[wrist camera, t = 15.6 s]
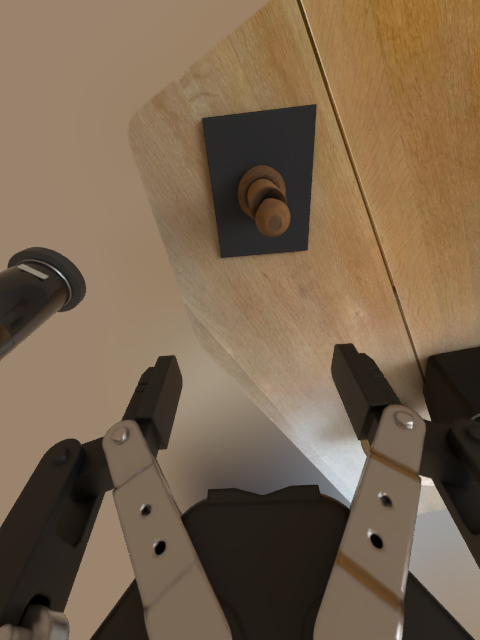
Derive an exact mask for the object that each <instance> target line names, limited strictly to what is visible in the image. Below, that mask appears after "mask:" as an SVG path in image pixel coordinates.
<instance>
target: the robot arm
mask: <svg viewBox="0 0 480 640" xmlns="http://www.w3.org/2000/svg"><path fill="white" fill-rule="evenodd" d="M72 296H73V288H72V285H71V283H70V281H69V279H68V278H67V276H66V275H65V274H64V273H63V272H62V271H61V270H60V269H59V268H57V267H56V266H54V265H53V264H51V263H49V262H47V261H44V260H41V259H35V258H30V259H25V260H23V261H21V262H19V263H17V264H16V265H14V266H12V267H10V268H8V269H6V270H4V271H2V272H0V361H1V360H2V359H3V358H4V357H5V356H7V355H8V354H9V353H10V352H11V351H12V350H13V349H15V348H16V347H17V346H18V345H19V344H20V343H21V342H23V341H24V340H25V339H26V338H27V337H28V336H30V335H31V334H32V333H33V332H34V331H35V330H36V329H37V328H39V327H40V326H41V325H42V324H43V323H45V322H46V321H47V320H48V319H49V318H50V317H52V316H53V315H54V314H55V313H56V312H57V311H59V310H60V309H61V308H62V307H63V306H65V305H66V304H67V303H69V302H70V300H71V299H72ZM331 373H332V378H333V380H334V383H335V385H336V388H337V390H338V393H339V395H340V397H341V400H342V402H343V405H344V407H345V409H346V412H347V414H348V417H349V419H350V421H351V424H352V426H353V429H354V431H355V433H356V436H357V438H358V440H368V442H369V445H370V449H369V452H368V455H367V458H366V461H365V464H364V467H363V470H362V473H361V476H360V479H359V482H358V485H357V488H356V491H355V494H354V497H353V500H352V502H351V505H350V508H348V507H347V506H345V505H344V504H342V503H341V502H339V501H338V500H336V499H334V498H332V497H330V496H327V495H324V494H321V493H320V491H319V487H318V485H300V486H299V485H298V486H289V487H286V488H283V489H281V490H277V491H275V492H272V493H269V494H266V495H259V494H255V493H251V492H247V491H244V490H240V489H236V488H229V489H209V490H208V497H207V498H206V499H203V500H201V501H200V502H197V503H196V504H194V505H193V506H191V507H190V508H189V509H188V510H187V511H186V512H185V513H184V514H182V512H181V510H180V507H179V505H178V504H177V502H176V499H175V498H174V495H173V493H172V491H171V489H170V487H169V485H168V483H167V481H166V479H165V476H164V474H163V472H162V470H161V468H160V466H159V464H158V462H157V459H156V457H157V453H158V450H161V449H167V447H168V442H169V438H170V434H171V430H172V426H173V422H174V418H175V414H176V410H177V406H178V402H179V398H180V394H181V390H182V375H181V372H180V369H179V366H178V362H177V359H176V357H175V356H174V355H171V356H159V357H158V359H157V362H156V364H155V367H149V368H148V369H147V370H146V371H145V372H144V373H143V374H142V376H141V378H140V381H139V382H138V386H137V387H136V389H135V393H134V394H133V396H132V398H131V400H130V403H129V405H128V407H127V409H126V412H125V414H124V416H123V418H122V420H121V422H118V423H116V424H115V425H114V426H112V427H111V428H110V429H109V430H108V431H107V433H106V434H105V436H104V437H101V438H99V439H96V440H93V441H90V442H87V443H84V444H80V442H79V441H78V440H76V439H66V440H63V441H61V442H59V443H57V444H55V445H54V446H53V447H51V448H50V449H49V450H48V451H47V452H46V454H44V456H43V457H42V459H41V461H40V462H39V464H38V466H37V467H36V469H35V471H34V473H33V474H32V476H31V477H30V479H29V481H28V483H27V484H26V486H25V487H24V489H23V491H22V492H21V494H20V496H19V498H18V499H17V501H16V502H15V504H14V506H13V507H12V509H11V511H10V512H9V514H8V516H7V518H6V519H5V521H4V522H3V524H2V526H1V527H0V640H68V638H69V622H68V619H67V617H66V616H65V614H63V612H64V609H65V606H66V604H67V601H68V598H69V595H70V592H71V589H72V586H73V583H74V581H75V578H76V574H77V572H78V569H79V566H80V563H81V561H82V558H83V555H84V552H85V549H86V546H87V543H88V540H89V538H90V535H91V532H92V529H93V526H94V523H95V520H96V517H97V514H98V511H99V509H100V506H101V503H102V500H103V497H104V494H105V492H107V491H109V490H112V489H114V488H115V489H114V490H113V498H114V502H115V506H116V509H117V513H118V516H119V520H120V524H121V527H122V531H123V534H124V538H125V542H126V545H127V549H128V552H129V556H130V559H131V563H132V567H133V570H134V574H135V577H136V578H135V579H134V580H133V582H132V583H131V584H130V586H129V587H128V588H127V590H126V591H125V593H124V594H123V595H122V597H121V598H120V599H119V601H118V602H117V603H116V605H115V606H114V608H113V609H112V610H111V612H110V613H109V614H108V616H107V617H106V618H105V620H104V621H103V623H102V624H101V625H100V627H99V628H98V629H97V631H96V632H95V633H94V635H93V636H92V637H91V639H90V640H475V639H474V638H473V637H472V636H471V635H470V634H469V633H468V632H467V631H466V630H465V629H464V628H463V627H462V626H461V624H460V623H459V622H458V621H457V620H455V618H454V617H453V616H452V615H451V614H450V613H449V612H448V611H447V610H446V609H445V608H444V607H443V606H442V605H441V604H440V603H439V602H438V600H436V598H435V597H434V596H433V595H432V594H431V593H430V592H429V591H428V590H427V589H426V588H425V587H424V586H423V585H422V584H421V583H420V582H419V581H418V579H417V578H416V577H415V576H414V575H413V574H412V573H411V572H410V571H409V570H408V569H409V563H410V555H411V549H412V543H413V536H414V530H415V523H416V517H417V510H418V503H419V497H420V490H421V477H419V475H420V476H423V477H427V478H431V479H432V481H433V483H434V484H435V486H436V488H437V490H438V492H439V494H440V496H441V497H442V499H443V501H444V503H445V505H446V507H447V509H448V511H449V512H450V514H451V516H452V518H453V520H454V522H455V524H456V525H457V527H458V529H459V531H460V533H461V535H462V537H463V539H464V540H465V542H466V544H467V546H468V548H469V550H470V552H471V554H472V555H473V557H474V559H475V561H476V563H477V565H478V567H479V569H480V422H478V421H475V420H472V419H467V418H460V419H457V420H455V421H454V422H453V423H452V425H446V424H441V423H437V422H432V421H428V420H424V419H422V417H421V416H420V415H419V414H418V413H417V412H415V411H414V410H412V409H410V408H408V407H406V406H403V404H402V403H401V401H400V400H399V398H398V397H397V395H396V394H395V392H394V391H393V389H392V387H391V386H390V384H389V383H388V381H387V380H386V378H384V375H383V374H382V372H381V371H380V370H379V368H378V366H377V365H376V363H375V361H374V360H373V359H371V358H370V357H369V356H368V355H366V354H365V353H358V352H357V350H356V348H355V347H354V345H353V344H352V343H349V344H336V345H335V347H334V353H333V359H332V365H331Z"/></svg>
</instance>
